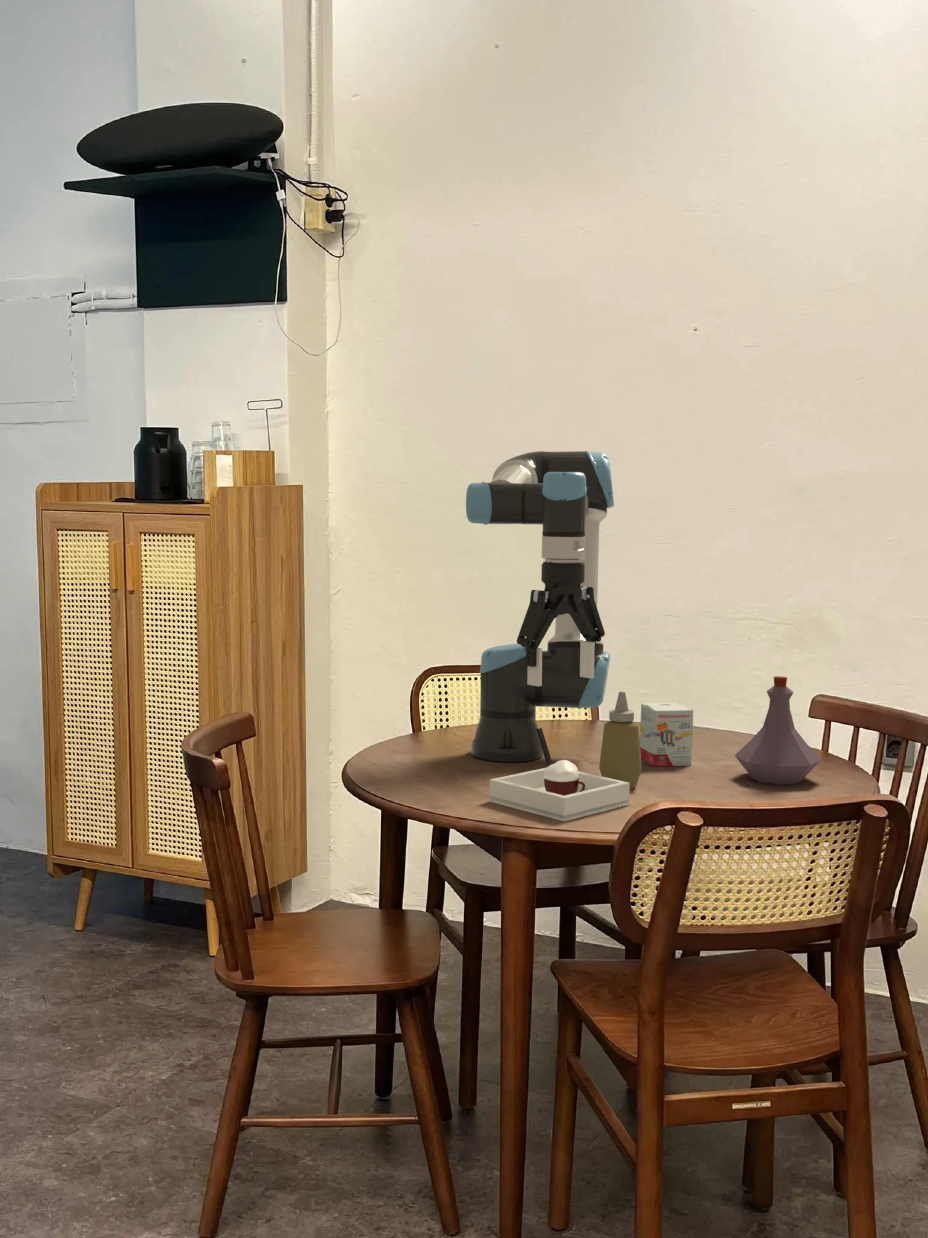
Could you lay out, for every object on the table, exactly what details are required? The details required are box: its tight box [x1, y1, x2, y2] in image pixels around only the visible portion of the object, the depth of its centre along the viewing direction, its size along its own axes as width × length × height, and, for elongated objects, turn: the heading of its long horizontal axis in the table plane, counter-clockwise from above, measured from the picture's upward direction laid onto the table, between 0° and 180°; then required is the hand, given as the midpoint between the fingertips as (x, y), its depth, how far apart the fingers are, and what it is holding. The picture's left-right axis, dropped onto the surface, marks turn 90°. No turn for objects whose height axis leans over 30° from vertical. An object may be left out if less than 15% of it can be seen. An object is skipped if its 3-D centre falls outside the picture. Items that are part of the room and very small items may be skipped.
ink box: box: [639, 702, 694, 768], centre depth 257 cm, size 9×9×12 cm
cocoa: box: [536, 726, 585, 796], centre depth 222 cm, size 10×6×12 cm, turn 36°
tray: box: [489, 767, 630, 822], centre depth 222 cm, size 17×18×4 cm
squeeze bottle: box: [598, 691, 643, 790], centre depth 234 cm, size 8×8×18 cm
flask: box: [734, 675, 822, 786], centre depth 241 cm, size 16×16×20 cm
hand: (561, 681), depth 220 cm, fingers open, 13 cm apart
